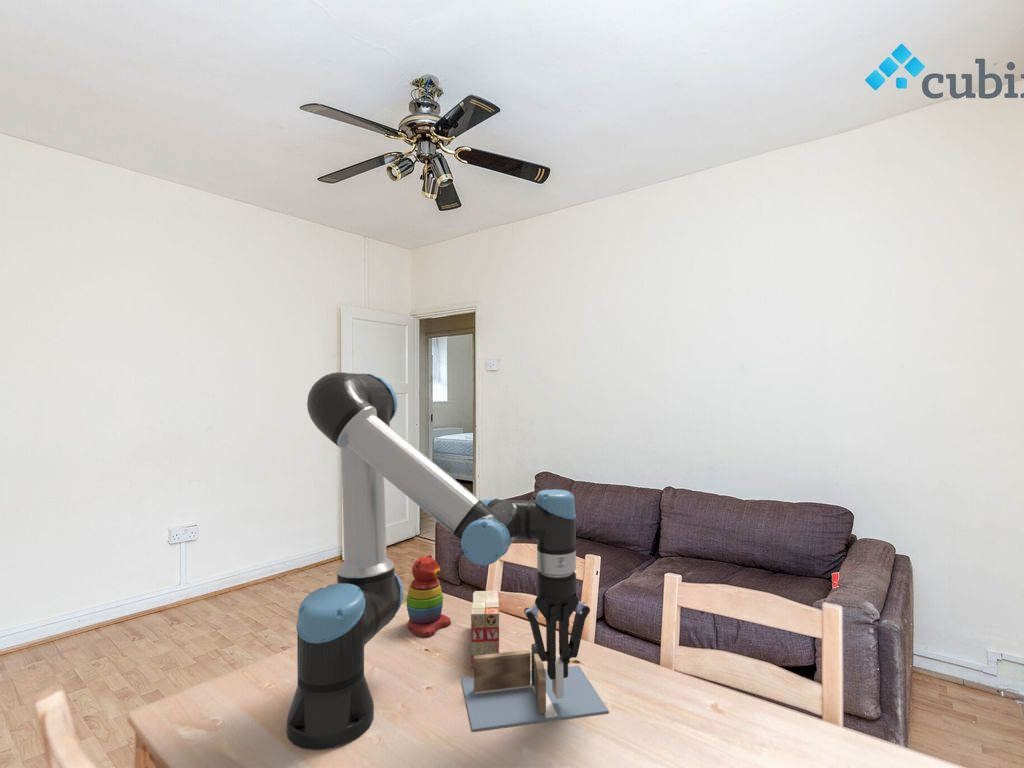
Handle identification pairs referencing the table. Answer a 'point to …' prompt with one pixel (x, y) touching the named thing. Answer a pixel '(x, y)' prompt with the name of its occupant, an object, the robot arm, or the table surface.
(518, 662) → the fence fixed panel
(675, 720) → the table surface
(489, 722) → the board
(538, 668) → the fence folding panel
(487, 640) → the stack of blocks
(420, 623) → the stacking bear
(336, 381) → the robot arm
